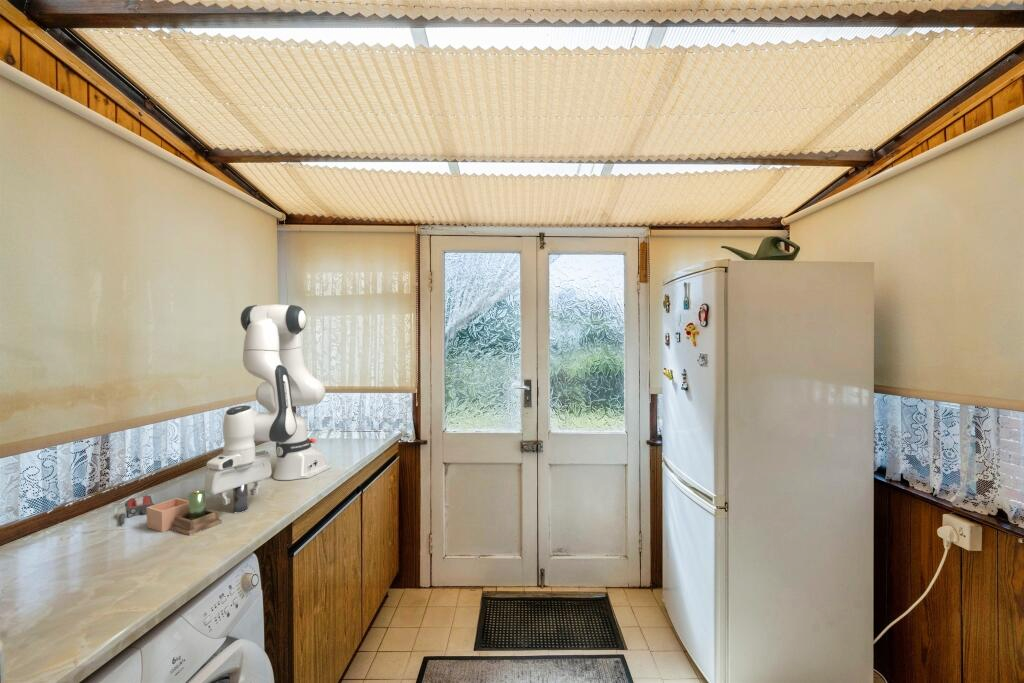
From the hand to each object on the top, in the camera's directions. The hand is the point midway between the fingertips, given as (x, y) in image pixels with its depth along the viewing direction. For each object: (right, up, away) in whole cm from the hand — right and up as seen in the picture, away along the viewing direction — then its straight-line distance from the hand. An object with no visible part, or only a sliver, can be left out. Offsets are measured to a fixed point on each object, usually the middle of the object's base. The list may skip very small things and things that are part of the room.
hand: (240, 499), depth 144 cm
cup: (-16, -4, -9) cm, 19 cm away
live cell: (-6, -3, -11) cm, 13 cm away
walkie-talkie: (-33, -5, -1) cm, 34 cm away
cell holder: (-6, -4, -11) cm, 13 cm away
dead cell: (0, -4, 0) cm, 4 cm away
